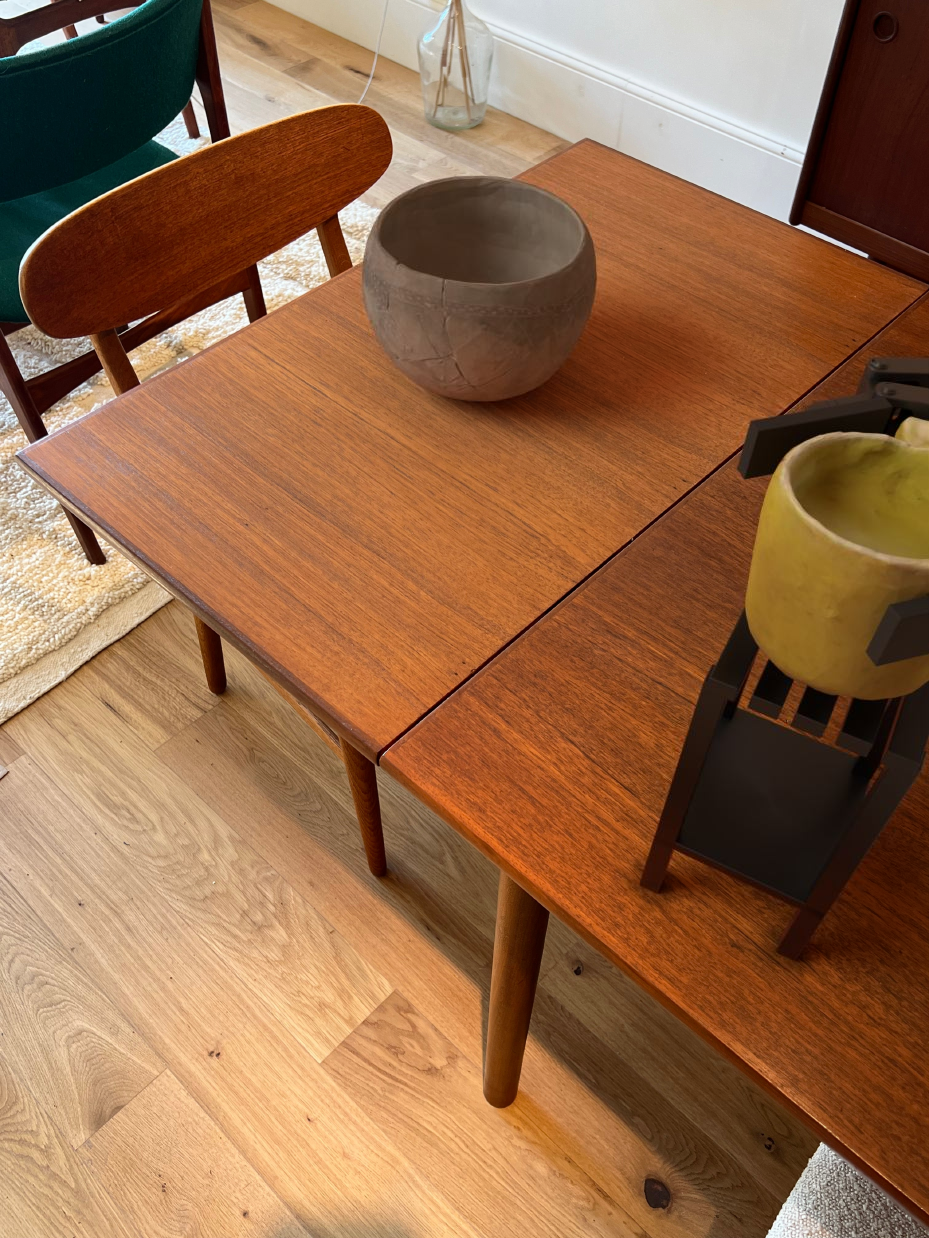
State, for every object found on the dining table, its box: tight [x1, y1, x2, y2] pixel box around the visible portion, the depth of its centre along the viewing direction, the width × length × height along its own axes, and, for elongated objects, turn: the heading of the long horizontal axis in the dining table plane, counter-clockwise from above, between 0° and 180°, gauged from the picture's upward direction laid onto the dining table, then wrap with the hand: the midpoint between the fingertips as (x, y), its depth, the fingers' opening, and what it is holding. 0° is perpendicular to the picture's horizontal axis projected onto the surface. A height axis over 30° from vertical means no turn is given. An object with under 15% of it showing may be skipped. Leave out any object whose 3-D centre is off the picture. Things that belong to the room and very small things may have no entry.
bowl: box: [361, 175, 598, 402], centre depth 90 cm, size 21×21×15 cm
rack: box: [638, 606, 929, 962], centre depth 55 cm, size 10×11×21 cm
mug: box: [744, 417, 929, 700], centre depth 42 cm, size 12×10×10 cm
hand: (808, 535), depth 40 cm, fingers closed on mug, 10 cm apart
